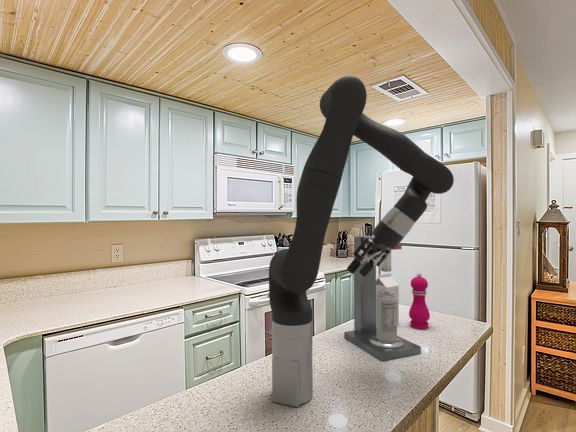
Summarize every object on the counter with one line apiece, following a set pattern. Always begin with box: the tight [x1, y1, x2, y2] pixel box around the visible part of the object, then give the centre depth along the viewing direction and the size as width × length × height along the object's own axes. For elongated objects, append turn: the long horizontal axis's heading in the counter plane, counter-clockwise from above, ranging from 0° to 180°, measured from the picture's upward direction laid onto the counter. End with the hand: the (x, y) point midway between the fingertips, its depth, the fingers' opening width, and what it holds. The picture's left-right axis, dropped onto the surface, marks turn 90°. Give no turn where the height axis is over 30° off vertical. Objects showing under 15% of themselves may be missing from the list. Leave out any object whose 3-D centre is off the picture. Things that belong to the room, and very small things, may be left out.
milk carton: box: [376, 272, 400, 326], centre depth 128 cm, size 7×7×19 cm
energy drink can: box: [376, 290, 398, 344], centre depth 104 cm, size 6×6×15 cm
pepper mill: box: [408, 272, 431, 330], centre depth 125 cm, size 7×7×20 cm
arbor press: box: [343, 235, 422, 362], centre depth 109 cm, size 20×22×34 cm
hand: (355, 273), depth 94 cm, fingers open, 8 cm apart
